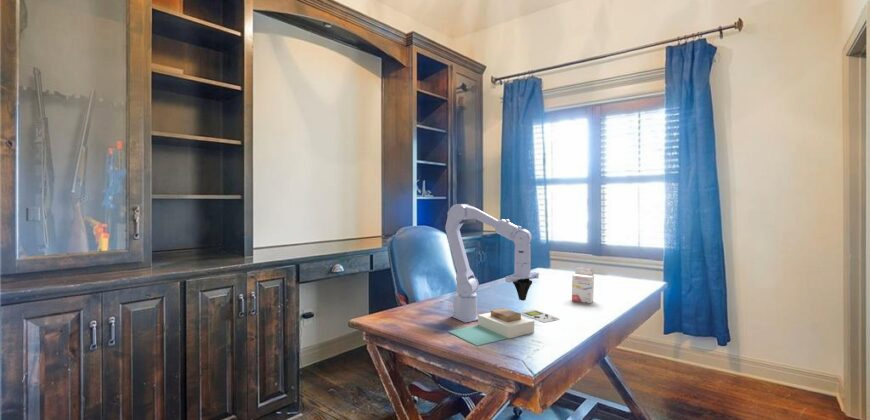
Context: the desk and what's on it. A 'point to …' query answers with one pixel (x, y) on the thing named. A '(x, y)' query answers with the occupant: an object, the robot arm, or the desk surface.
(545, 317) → the handheld gaming device
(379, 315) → the desk surface
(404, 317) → the desk surface
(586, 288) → the ink cartridge box
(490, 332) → the mat
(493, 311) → the block
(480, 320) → the cream white board
